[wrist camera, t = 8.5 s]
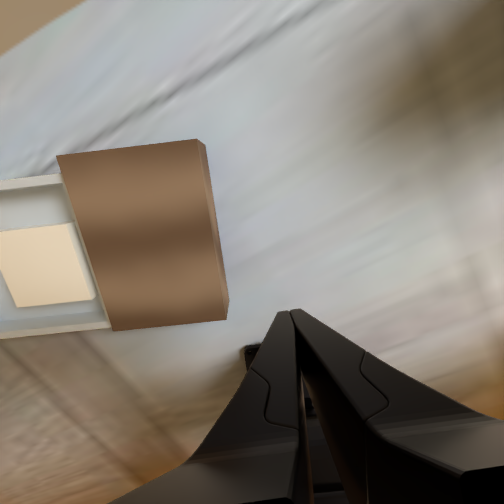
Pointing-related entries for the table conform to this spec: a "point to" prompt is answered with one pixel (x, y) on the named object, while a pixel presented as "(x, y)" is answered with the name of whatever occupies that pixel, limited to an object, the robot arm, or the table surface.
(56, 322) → the box
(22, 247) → the block
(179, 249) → the brown rectangular slab
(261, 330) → the table surface
